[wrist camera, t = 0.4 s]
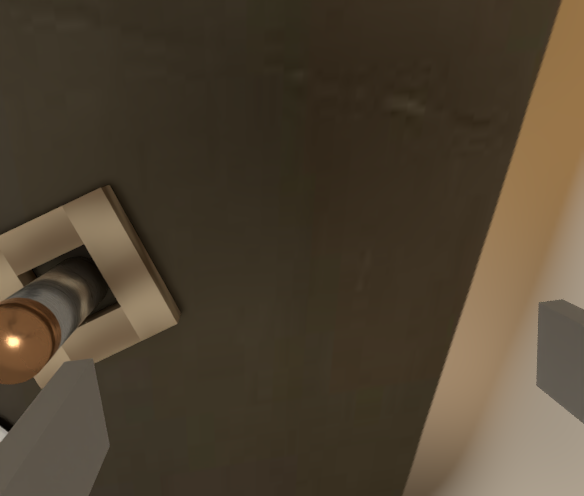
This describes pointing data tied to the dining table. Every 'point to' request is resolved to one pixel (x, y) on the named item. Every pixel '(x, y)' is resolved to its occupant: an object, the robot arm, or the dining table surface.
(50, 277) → the clear jar
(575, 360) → the robot arm
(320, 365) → the dining table surface
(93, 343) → the socket block
